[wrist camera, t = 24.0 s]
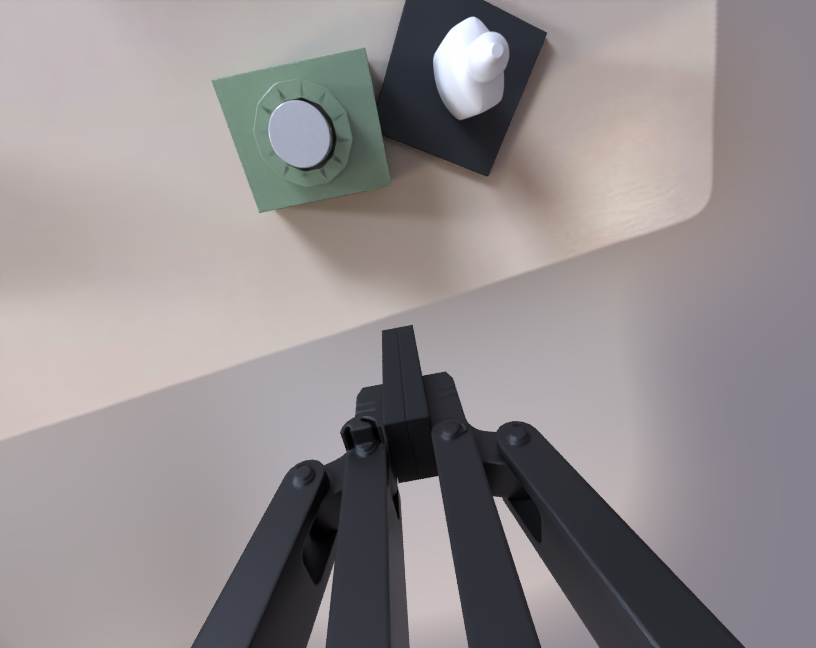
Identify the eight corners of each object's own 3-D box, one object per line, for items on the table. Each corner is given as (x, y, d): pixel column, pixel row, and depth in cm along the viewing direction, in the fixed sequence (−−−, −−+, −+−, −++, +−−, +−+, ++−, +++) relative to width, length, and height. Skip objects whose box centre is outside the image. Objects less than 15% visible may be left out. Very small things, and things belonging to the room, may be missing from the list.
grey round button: (323, 97, 27) (320, 94, 25) (339, 160, 29) (337, 161, 27) (266, 109, 27) (259, 107, 25) (286, 171, 29) (280, 173, 27)
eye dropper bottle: (484, 45, 30) (543, -11, 20) (476, 121, 33) (525, 108, 22) (433, 42, 30) (465, -17, 19) (429, 119, 33) (455, 104, 22)
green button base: (366, 58, 31) (364, 40, 25) (390, 181, 35) (392, 187, 30) (229, 87, 31) (199, 75, 25) (271, 206, 35) (252, 217, 30)
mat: (544, 34, 31) (547, 32, 30) (486, 176, 36) (488, 176, 35) (414, -32, 28) (415, -36, 28) (370, 130, 33) (370, 130, 33)
